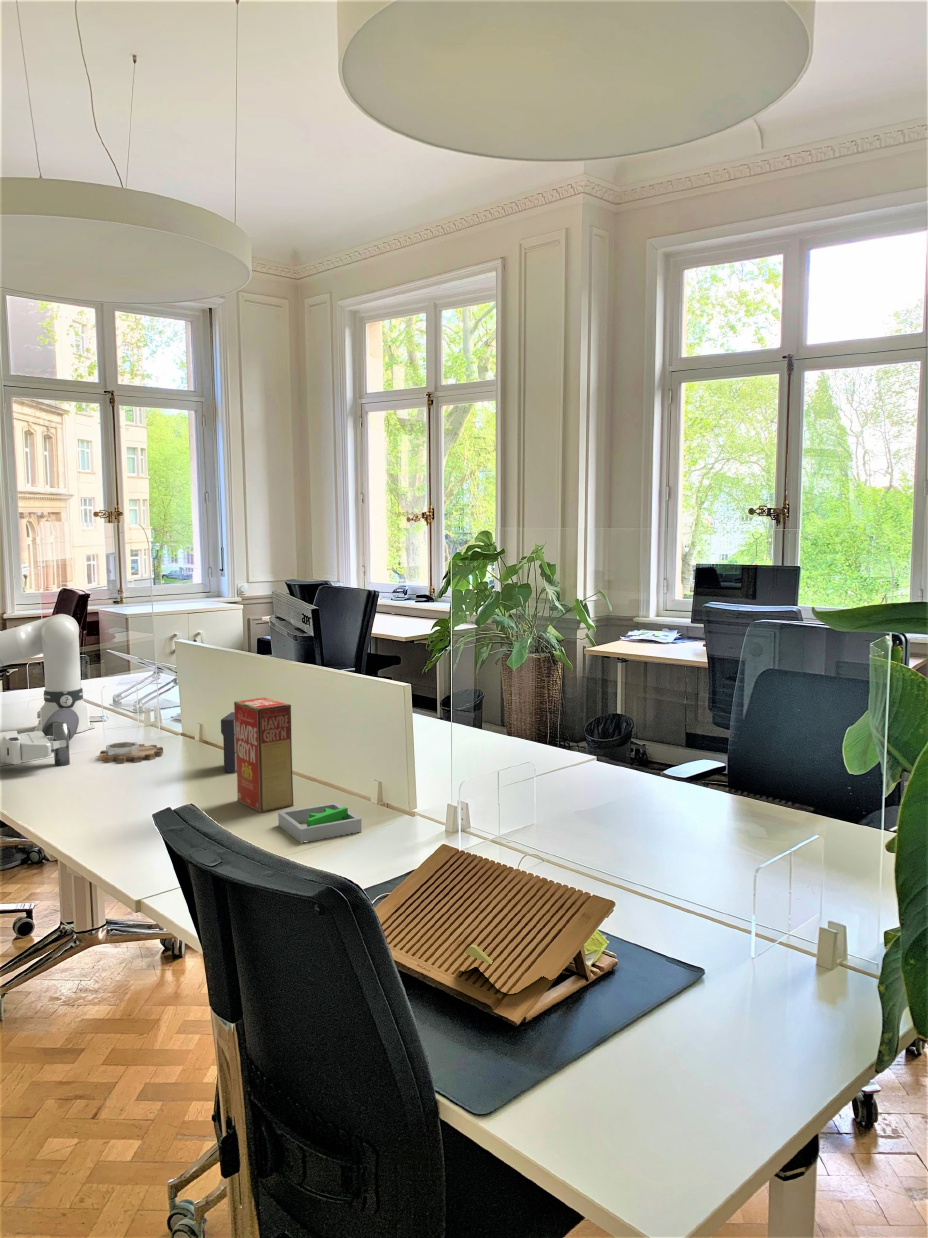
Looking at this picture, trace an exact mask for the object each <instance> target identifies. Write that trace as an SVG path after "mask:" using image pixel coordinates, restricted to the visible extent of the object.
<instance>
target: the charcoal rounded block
mask: <svg viewBox="0 0 928 1238" xmlns="http://www.w3.org/2000/svg"><path fill="white" fill-rule="evenodd" d="M220 734H221V735H222V736H223V737H222V738H223V739H222V740H223V743H222V744H223V772H224V773H227V774H234V773H237V761H236V735H235V711H232V712H230V713H228V714H227V715H225V716H224V717H222V718H221V719H220Z"/></svg>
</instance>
